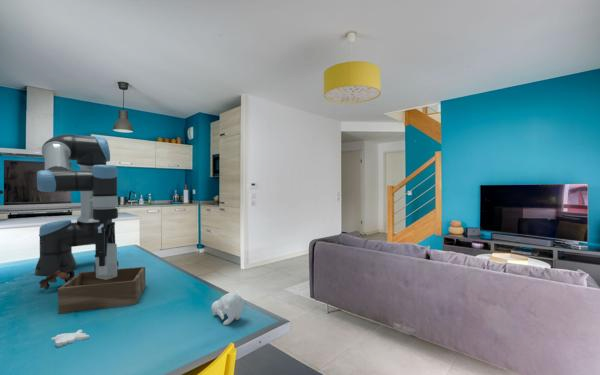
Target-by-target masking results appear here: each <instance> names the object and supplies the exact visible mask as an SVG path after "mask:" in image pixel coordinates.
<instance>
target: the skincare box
mask: <svg viewBox="0 0 600 375" xmlns="http://www.w3.org/2000/svg"><path fill="white" fill-rule="evenodd" d="M94 246H95V251H96V244H95V245H94ZM117 246H118V245H117V243H115V244H112V243H108V244H107V255H106V256H108V275H100V276H98V257H95V264H96V278H100V279H104V280H107V279H111V278H114V277H117V261H118V253H117V252H118V248H117ZM95 251H94V252H95ZM100 253H101V252H100Z"/></svg>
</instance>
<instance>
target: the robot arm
mask: <svg viewBox="0 0 600 375" xmlns="http://www.w3.org/2000/svg"><path fill="white" fill-rule="evenodd" d="M110 151H111V150H110V146H109V143H108V140H107V139H106V138H105V137H100V136H95V135H94V136H92V135H80V134H79V135H77V134H60V135H56V136H53V137H51V138H49V139H48V140H46V141H45V142H44V143H43V145H42V147H41V155H42V157H43V158H44V170H38V171H37V173H36V187H37V191H39V192H42V193H45V192H46V193H47V192H49V193H56V192H57V193H58V192H59V193H60V192H80V216H79V217H77V219H76V222H73V221H72V220H71V219H65V220H64V219H63V220H57V221H52V222H51V221H50V222H47V223H44V224H41V226H39V231H38V232H39V234H38V237H39V258H38V259H37V263H36V265H35V268H34V275H35V276H49V275H51V274H52V273H54V272H56V271H58V270H60V271H61V272H65V271H67V270H72V271H74V270H76V269H77V262H76V259H75V257H74V254H73V250H72V248H74V247H81V246H91V245H92V246H93V245H94V246H95V245H96V251H94V252H95V253H94V254H95V255H94V257H95V258H96V257H98V276H100V275H108V256H106V255H107V244H108V243H112V244H116V222H115V221H113V220H115V219H118V218H119V209H118V208H117V207H119V201H118V200H119V199H118V176H119V173H118V168H117V166H116V165H115V164H107V163H108V162H110V161H111V152H110ZM70 161H76V165H77V166H79V168H80V170H71V167H70ZM100 252H101V253H100Z"/></svg>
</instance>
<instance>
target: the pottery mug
mask: <svg viewBox="0 0 600 375" xmlns="http://www.w3.org/2000/svg"><path fill="white" fill-rule="evenodd" d="M75 276H76V274H75V271H74V270H67V271H65V272H61V271H60V270H58V271H56V272H54V273H52V274H51V275H46V277H45V278H42V279H41V280H39V282H38V284H39V286H40V287H39V289H43V288H44V289H46V290H48V289H49V288H50V287H51V284H50V283H57V282H58V281H57V277H58V278H59V279H61V280H64V282H65V283H66V282H68V281H69V280H71V279H72V278H73V277H75ZM65 283H64V284H65Z"/></svg>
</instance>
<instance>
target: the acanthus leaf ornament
mask: <svg viewBox="0 0 600 375" xmlns="http://www.w3.org/2000/svg"><path fill="white" fill-rule="evenodd" d="M90 338H91V337H90V335H89V334H87V333H86V332H85V333H84V332H83V329H78V330H77V331H76V332H70V333H69V332H68V333H61V334H57V335H56V336H53V337H51V338H50V341H54V344H55V346H56V347H57V348H59V347H63V346H65V345H67V344H72V343H74V342H75V341H85V340H88V339H90Z"/></svg>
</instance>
